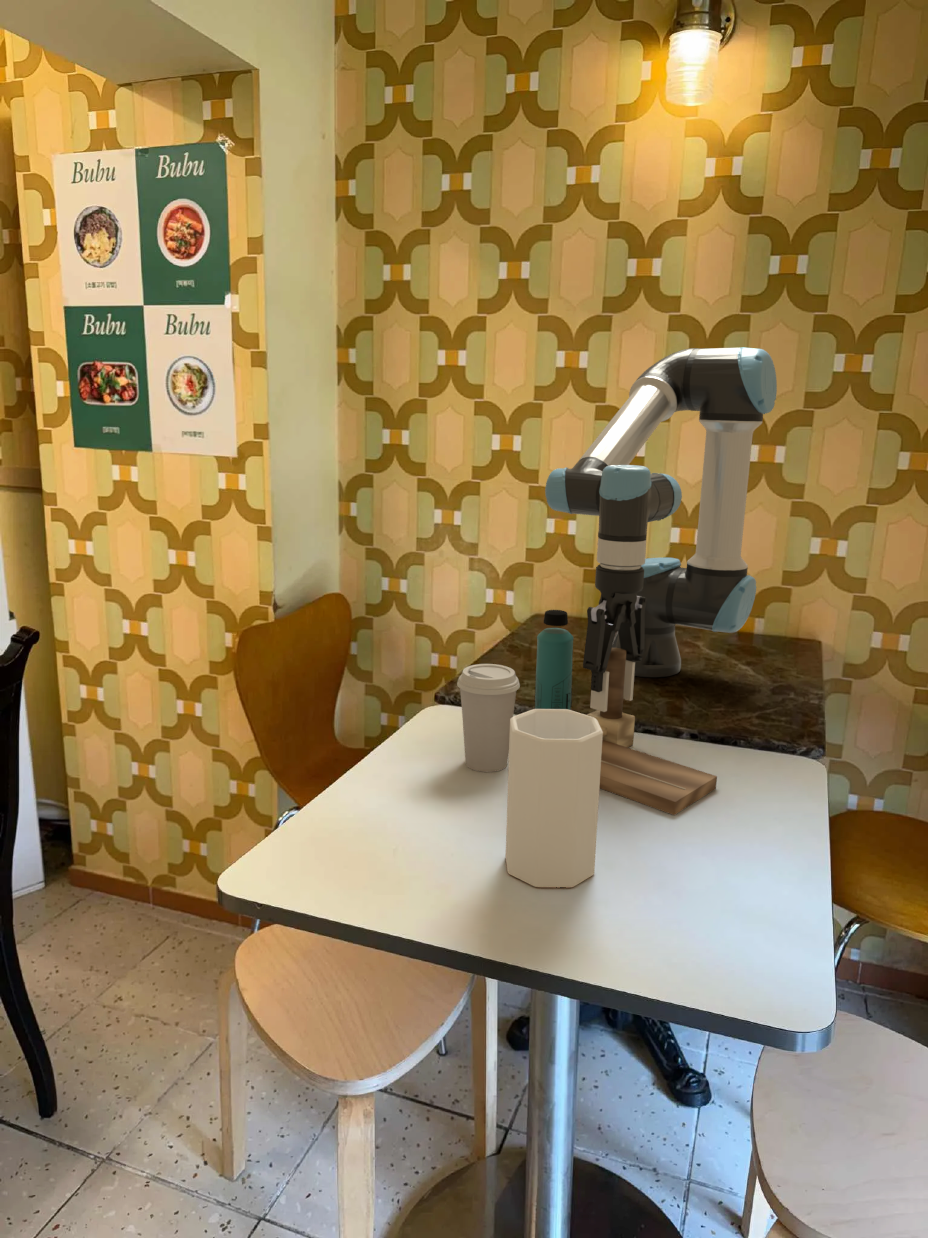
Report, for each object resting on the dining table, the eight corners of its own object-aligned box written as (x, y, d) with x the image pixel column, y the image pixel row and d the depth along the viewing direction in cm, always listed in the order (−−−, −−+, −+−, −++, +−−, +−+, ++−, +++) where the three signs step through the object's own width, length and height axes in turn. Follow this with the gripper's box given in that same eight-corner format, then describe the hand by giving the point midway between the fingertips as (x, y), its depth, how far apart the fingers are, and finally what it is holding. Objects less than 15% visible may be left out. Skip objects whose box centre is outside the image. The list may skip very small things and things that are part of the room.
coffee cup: (446, 756, 142) (447, 665, 139) (500, 748, 146) (503, 659, 142) (470, 780, 134) (472, 684, 130) (527, 771, 138) (531, 677, 134)
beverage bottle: (569, 729, 155) (574, 616, 150) (530, 726, 156) (535, 614, 151) (572, 717, 161) (577, 608, 156) (535, 713, 162) (539, 605, 157)
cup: (529, 898, 103) (536, 747, 98) (488, 853, 113) (492, 714, 108) (612, 879, 107) (622, 733, 103) (566, 837, 117) (573, 703, 113)
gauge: (602, 735, 153) (608, 644, 149) (633, 744, 149) (639, 651, 145) (548, 760, 142) (552, 662, 138) (579, 771, 138) (585, 671, 134)
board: (572, 741, 150) (572, 729, 149) (715, 788, 133) (717, 775, 132) (526, 761, 141) (527, 749, 140) (674, 815, 124) (675, 801, 123)
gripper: (633, 554, 151) (625, 685, 157) (563, 569, 137) (556, 712, 142) (673, 560, 146) (663, 695, 152) (604, 577, 132) (596, 725, 138)
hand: (611, 703), depth 147 cm, fingers open, 7 cm apart
